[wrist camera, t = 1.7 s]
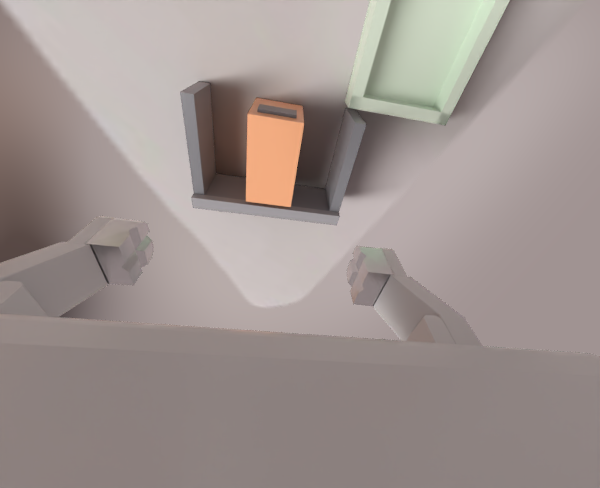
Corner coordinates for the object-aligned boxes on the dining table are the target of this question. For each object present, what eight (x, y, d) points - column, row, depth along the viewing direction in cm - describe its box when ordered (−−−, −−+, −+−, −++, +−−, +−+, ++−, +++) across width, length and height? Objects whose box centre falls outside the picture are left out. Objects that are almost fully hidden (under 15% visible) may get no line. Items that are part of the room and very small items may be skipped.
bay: (199, 81, 23) (176, 94, 18) (355, 109, 24) (368, 127, 20) (207, 180, 29) (192, 207, 25) (330, 197, 31) (336, 225, 27)
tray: (402, -129, 16) (416, -149, 14) (533, -88, 17) (562, -102, 15) (344, 101, 24) (348, 107, 22) (434, 118, 25) (445, 125, 23)
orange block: (256, 94, 24) (247, 110, 19) (302, 102, 24) (304, 120, 20) (253, 174, 29) (245, 201, 24) (291, 179, 29) (290, 207, 25)
